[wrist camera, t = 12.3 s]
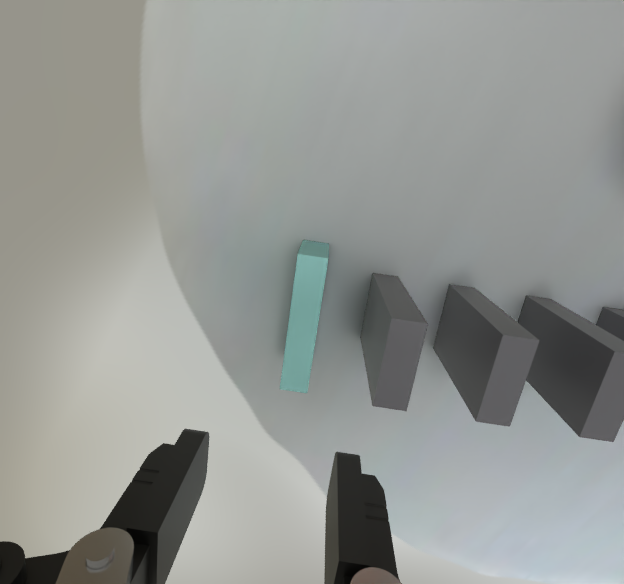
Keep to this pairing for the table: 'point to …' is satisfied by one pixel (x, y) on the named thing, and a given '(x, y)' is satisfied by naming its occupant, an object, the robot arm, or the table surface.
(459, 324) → the domino
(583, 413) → the domino
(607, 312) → the domino
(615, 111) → the table surface
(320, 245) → the domino
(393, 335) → the domino
